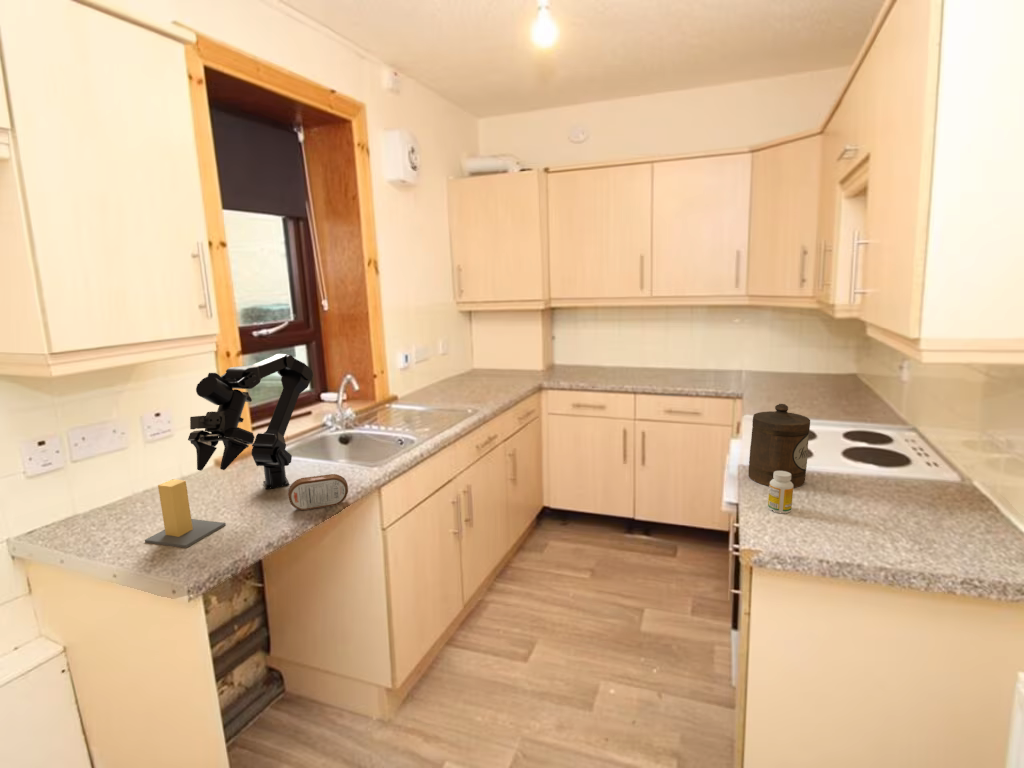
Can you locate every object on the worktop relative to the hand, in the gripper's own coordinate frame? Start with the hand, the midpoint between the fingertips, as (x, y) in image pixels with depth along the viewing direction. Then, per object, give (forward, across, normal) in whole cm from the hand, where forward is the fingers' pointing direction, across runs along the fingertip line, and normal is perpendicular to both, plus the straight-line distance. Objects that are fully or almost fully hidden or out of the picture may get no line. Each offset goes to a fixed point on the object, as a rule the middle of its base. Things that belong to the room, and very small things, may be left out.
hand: (210, 469), depth 141 cm
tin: (+4, +17, +23) cm, 28 cm away
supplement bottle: (-7, +125, +70) cm, 143 cm away
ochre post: (+16, -2, -1) cm, 16 cm away
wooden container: (-20, +123, +88) cm, 153 cm away
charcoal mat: (+16, -1, 0) cm, 16 cm away
